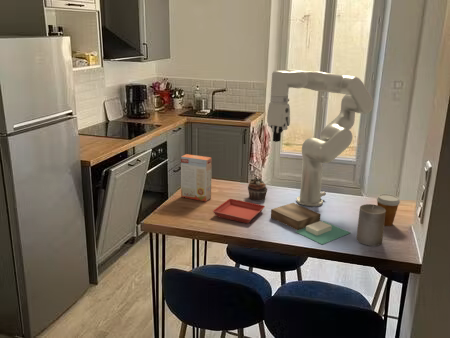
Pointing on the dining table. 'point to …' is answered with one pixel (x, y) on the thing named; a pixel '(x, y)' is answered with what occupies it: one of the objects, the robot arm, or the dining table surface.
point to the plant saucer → (238, 210)
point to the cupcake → (257, 189)
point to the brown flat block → (295, 216)
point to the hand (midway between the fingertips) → (276, 141)
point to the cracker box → (196, 177)
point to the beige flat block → (318, 228)
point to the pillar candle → (371, 224)
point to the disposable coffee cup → (388, 207)
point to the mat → (324, 234)
